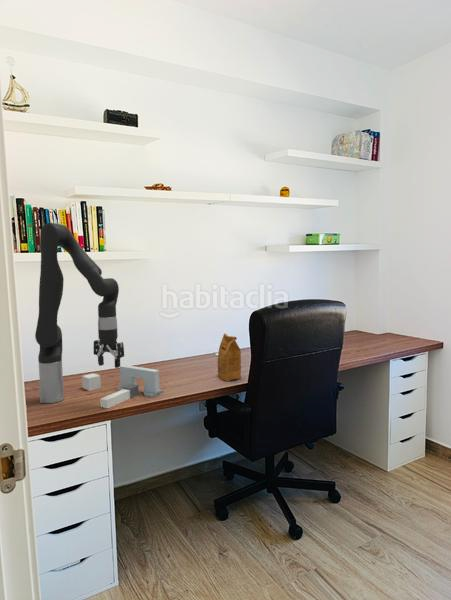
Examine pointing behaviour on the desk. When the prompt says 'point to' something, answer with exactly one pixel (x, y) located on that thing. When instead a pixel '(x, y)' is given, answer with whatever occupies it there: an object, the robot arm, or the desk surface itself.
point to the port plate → (148, 376)
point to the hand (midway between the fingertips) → (109, 366)
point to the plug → (120, 396)
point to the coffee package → (229, 359)
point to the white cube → (91, 382)
